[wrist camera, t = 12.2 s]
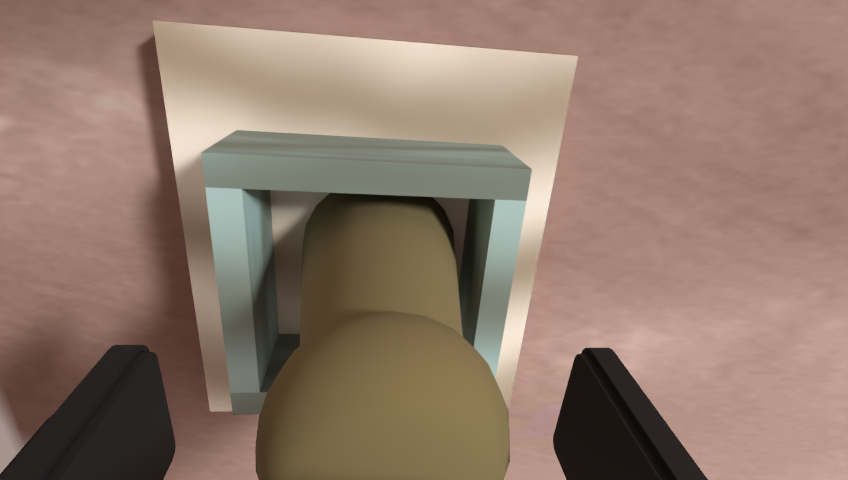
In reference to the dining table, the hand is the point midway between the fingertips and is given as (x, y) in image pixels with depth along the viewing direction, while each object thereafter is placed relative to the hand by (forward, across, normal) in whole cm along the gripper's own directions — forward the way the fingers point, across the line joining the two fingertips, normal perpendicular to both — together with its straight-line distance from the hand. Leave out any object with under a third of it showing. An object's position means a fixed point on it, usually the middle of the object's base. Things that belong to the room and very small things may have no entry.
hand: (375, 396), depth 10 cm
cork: (+8, 0, 0) cm, 9 cm away
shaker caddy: (+10, 0, +1) cm, 10 cm away
